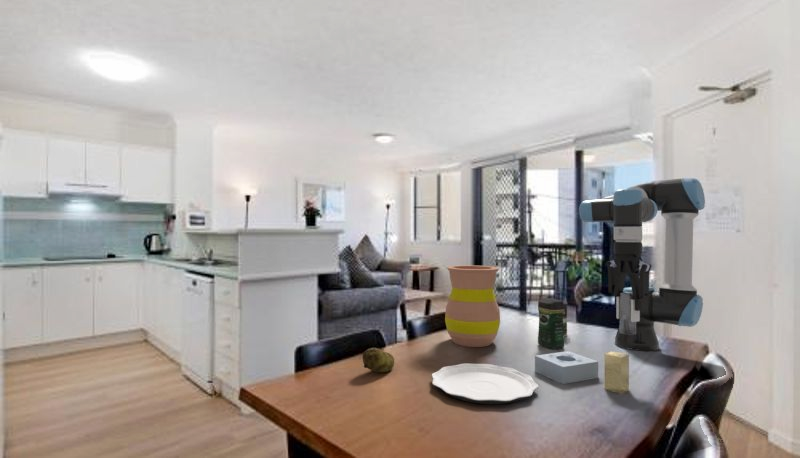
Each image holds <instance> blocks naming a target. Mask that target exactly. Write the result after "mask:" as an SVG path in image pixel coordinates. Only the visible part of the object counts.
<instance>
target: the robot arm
mask: <svg viewBox="0 0 800 458" xmlns="http://www.w3.org/2000/svg"><path fill="white" fill-rule="evenodd" d="M705 203H706V198H705V192H704V188H703V185H702V184H701V182H700V180H699V179H697V178H693V177H692V178H691V177H690V178H683V177H682V178H675V179H673V178H672V179H663V180H662V179H661V180H651V181H645V182H643V183H638V184H636V185H632V186H629V187H627V188H623V189H622V188H621V189H617V190H615V191H614V192H613V195H609V196H605V197H603V198H598V199H590V200H584V201H582V202H581V203H580V204H579V209H578V214H579V218H580V220H581V221H582V222H584V223H591V224H592V223H613V240H614V242H613V254H614V257H613V260H607V261H606V262H605V265H606V267H607V284H608V285H607V287H608V293H609V294H612V295H613V296H614V307H616V308H615V309H616V314H615V315H616V319H617V320H620V292H632V293H633V298H632V299H631V322H636V335H625V334H621V333H620V325H619V326H618V329H617V331H616V334H615V336H614V345H616V346H618V347H620V348H624V349H627V350H633V351H640V352H642V351H643V352H652V351H653V352H654V351H658V350H659V349H660V341H659V340H658V336H657V333H656V331H655V323H661V324H667V325H675V326H678V327H688V328H690V327H695V326H697V324H698V322H699V321H700V319H701V317H702V316H701V315H702V312H703V307H704V306H703V305H704V303H703V301H704V300H703V299H704V298H703V297H702V295H700V294H697V292H698V290H697V289H696V287H695V286H694V285H693V253H694V252H693V250H694V249H693V247H694V241H693V240H694V219H696V218H697V217H698V216H699V211H701V210H704V209H705V207H706V206H705ZM658 212H660V215H661V216H662V217H663V218H664V220H665V228H664V229H665V232H664V233H665V234H664V237H665V238H664V268H663V269H664V270H663V271H664V272H663V273H664V276H663V284H661V285H660V286H659V287H658V291H657V290H655V288H654V287H653V286H650V271H651V269H652V264H651V263H645V262H643V259H642V255H643V243H642V240H643V223H646V222H650V221H651V220H654V219H655V217H656V216H657V214H658ZM626 277H629V281H630V287H629V286H627V287H625V283H626Z"/></svg>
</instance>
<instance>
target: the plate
mask: <svg viewBox="0 0 800 458" xmlns="http://www.w3.org/2000/svg"><path fill="white" fill-rule="evenodd" d="M431 377H432V378H431V379H432V382H431V384H432V385H433V387H436V388H438V389H440V390H442V391H443V392H445V393H446V394H447V395H449V396H451V397H452V398H455V399H458V400H461V401H465V402H469V403H475V404H482V405H502V404H510V403H513V402H517V401H519V400H522V399H527V398H529V397H531V396H532V395H533V393H534V392H535V390H537V389H539V385H538V383H536V382H535V381H534V379H533V377H532V376H531V375H529V374H526V373H524V372H520V371H518V370H516V369H515V368H512V367H507V366H500V365H496V364H491V363H465V362H464V363H460V364H455V365H447V366H443V367H441V368H440V369H439V370H437V371H436V372H433V373H432V374H431Z"/></svg>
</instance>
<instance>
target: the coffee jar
mask: <svg viewBox="0 0 800 458" xmlns="http://www.w3.org/2000/svg"><path fill="white" fill-rule="evenodd" d="M562 301H563V300H559V299H555V298H549V297H544V298H543V297H542V298H539V300H538V302H537V303H538V305H537V310H538V316H539V317H538V333H537V335H538V336H537V344H538V345H539V346H541V347H545V348H546V349H551V350H552V349H556V350H560V349H563V348H564V347H565V336H564V332H563V313H564V303H563V302H562Z"/></svg>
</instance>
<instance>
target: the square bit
mask: <svg viewBox="0 0 800 458" xmlns="http://www.w3.org/2000/svg"><path fill="white" fill-rule="evenodd" d="M629 387H630V355H629V354H627V353H623V352H618V351H614V350H611V351H608V352H606V353H604V390H606V391H610V392H613V393H617V394H620V395H623V394H625V393H627V392H628V391H630V388H629Z"/></svg>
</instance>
